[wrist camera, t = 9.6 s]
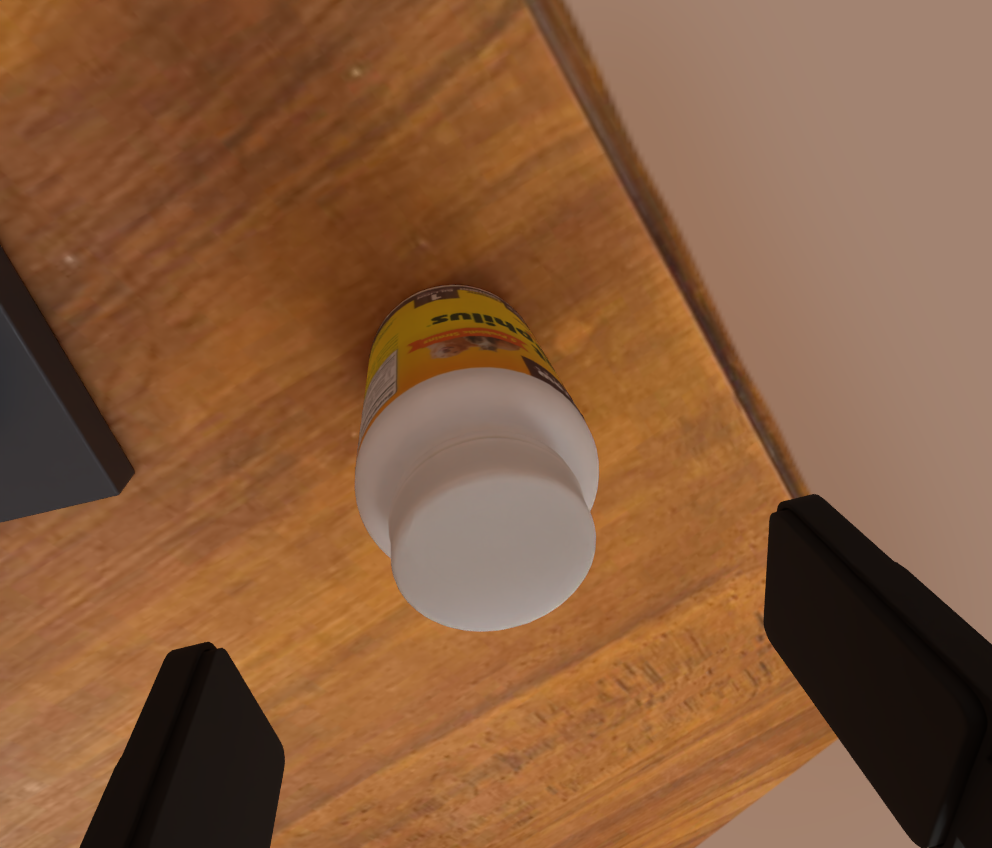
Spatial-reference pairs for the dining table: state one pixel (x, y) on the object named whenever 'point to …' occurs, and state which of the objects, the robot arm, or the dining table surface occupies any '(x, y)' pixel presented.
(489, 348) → the supplement bottle
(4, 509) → the block
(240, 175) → the dining table surface
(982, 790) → the robot arm
